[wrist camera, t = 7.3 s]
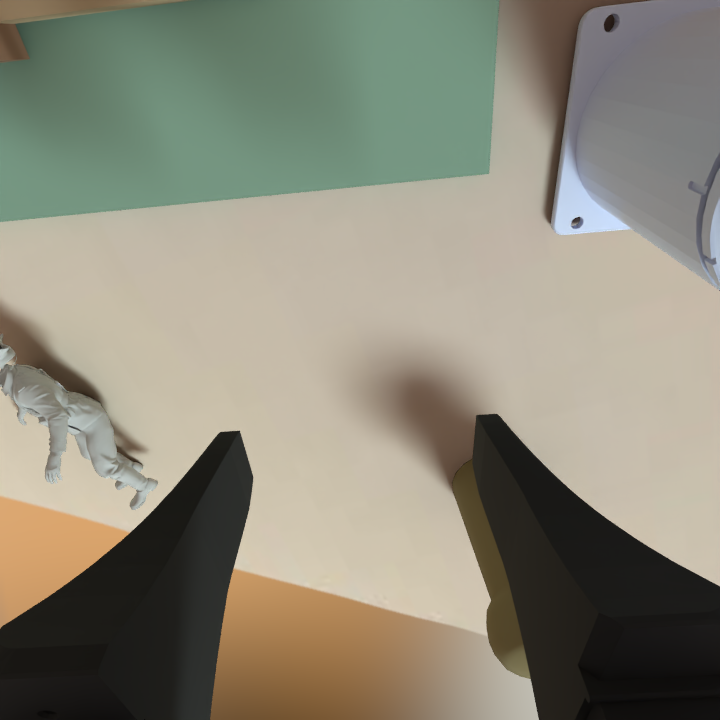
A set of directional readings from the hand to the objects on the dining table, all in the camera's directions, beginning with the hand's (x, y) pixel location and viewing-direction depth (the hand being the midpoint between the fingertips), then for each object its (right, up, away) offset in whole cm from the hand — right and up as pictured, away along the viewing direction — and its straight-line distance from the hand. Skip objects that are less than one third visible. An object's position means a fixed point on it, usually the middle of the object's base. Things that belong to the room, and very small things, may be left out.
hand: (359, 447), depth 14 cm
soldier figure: (-16, 0, +13) cm, 21 cm away
